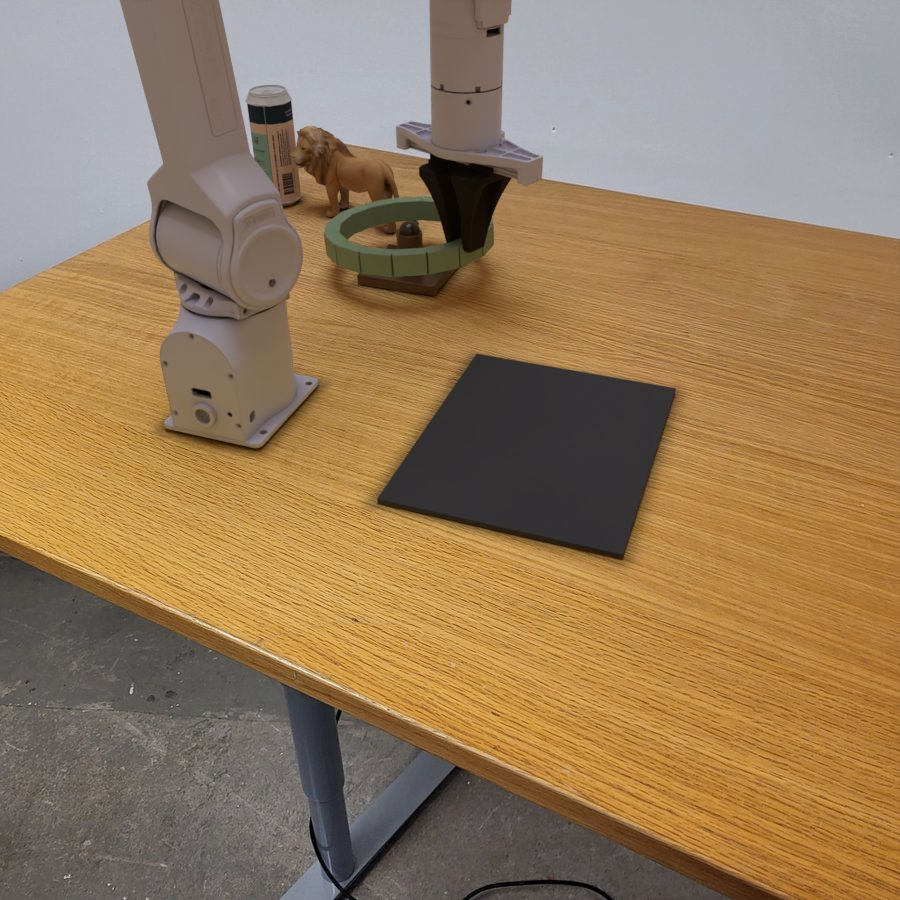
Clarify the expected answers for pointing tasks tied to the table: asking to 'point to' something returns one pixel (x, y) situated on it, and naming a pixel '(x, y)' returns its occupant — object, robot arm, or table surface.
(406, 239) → the peg stand
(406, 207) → the ring
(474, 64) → the robot arm
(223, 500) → the table surface
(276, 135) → the beer can
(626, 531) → the mat
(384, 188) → the lion figurine
